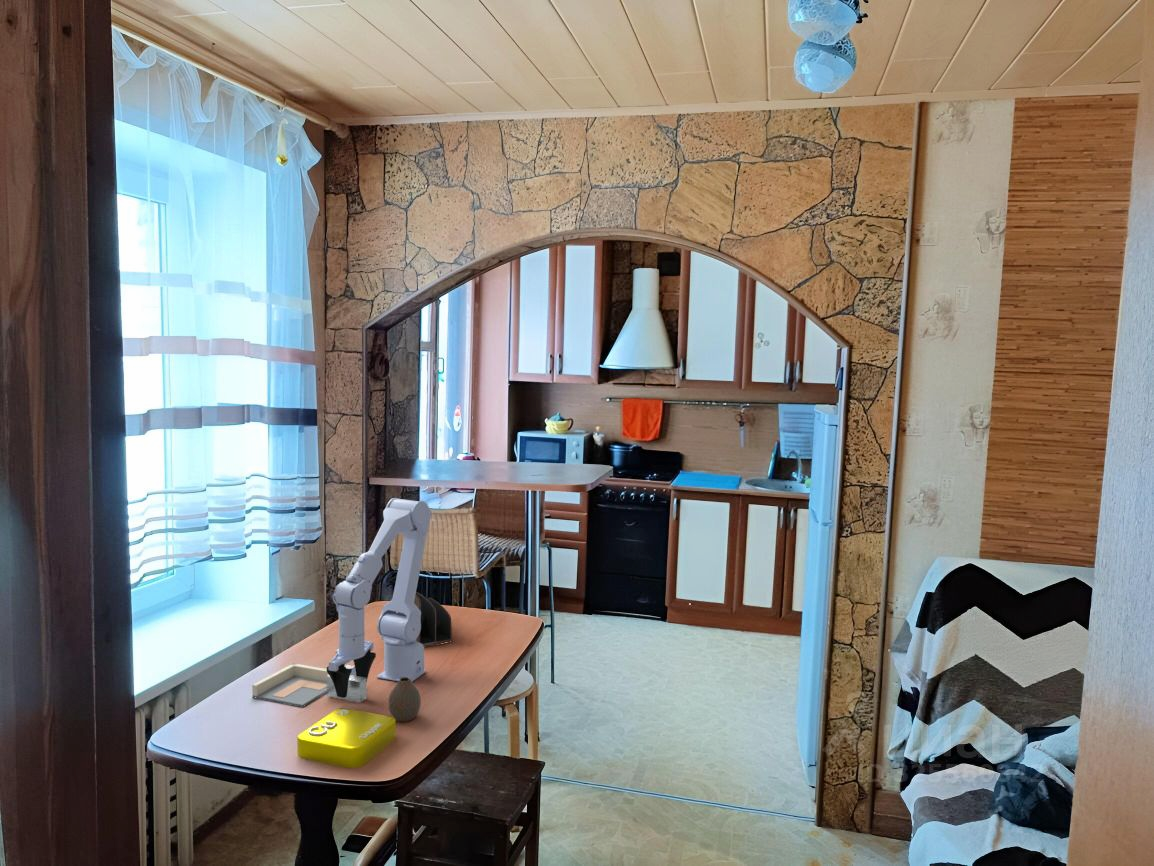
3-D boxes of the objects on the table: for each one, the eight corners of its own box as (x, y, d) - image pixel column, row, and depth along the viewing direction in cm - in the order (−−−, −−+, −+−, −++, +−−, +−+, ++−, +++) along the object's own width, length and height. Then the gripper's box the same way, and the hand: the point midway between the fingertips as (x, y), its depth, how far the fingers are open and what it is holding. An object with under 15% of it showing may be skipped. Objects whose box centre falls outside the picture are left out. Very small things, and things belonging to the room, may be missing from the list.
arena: (340, 683, 188) (340, 671, 187) (302, 707, 174) (302, 694, 174) (293, 675, 192) (293, 663, 192) (252, 697, 179) (252, 684, 179)
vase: (393, 727, 166) (392, 687, 165) (385, 714, 172) (385, 676, 171) (424, 721, 169) (424, 682, 168) (415, 708, 175) (415, 671, 174)
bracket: (378, 690, 184) (378, 669, 184) (359, 702, 177) (359, 681, 177) (346, 684, 187) (346, 664, 187) (327, 696, 180) (326, 676, 180)
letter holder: (417, 649, 212) (417, 598, 211) (396, 627, 229) (396, 580, 228) (452, 643, 217) (452, 594, 216) (429, 622, 234) (429, 576, 233)
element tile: (358, 771, 148) (357, 747, 148) (293, 758, 153) (292, 734, 152) (399, 737, 162) (399, 714, 162) (339, 725, 167) (339, 704, 167)
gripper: (355, 621, 186) (355, 676, 187) (316, 640, 173) (317, 699, 174) (380, 625, 184) (380, 680, 185) (343, 645, 170) (343, 704, 171)
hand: (351, 690), depth 179 cm, fingers open, 7 cm apart
